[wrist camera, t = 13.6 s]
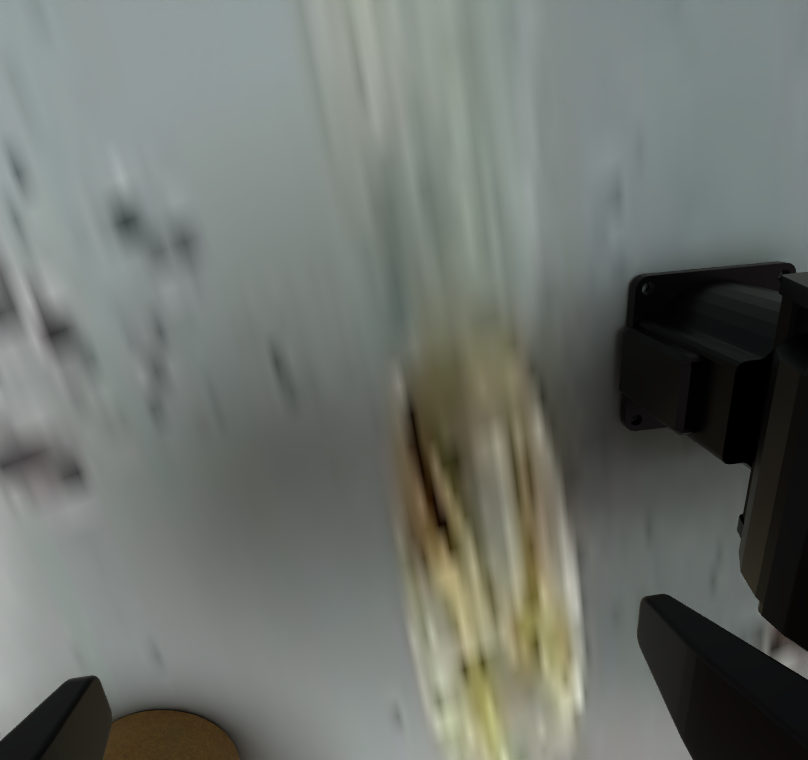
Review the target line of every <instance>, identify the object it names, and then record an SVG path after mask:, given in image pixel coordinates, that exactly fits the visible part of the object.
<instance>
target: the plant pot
mask: <svg viewBox="0 0 808 760" xmlns="http://www.w3.org/2000/svg"><path fill="white" fill-rule="evenodd" d="M103 760H239V755H238V752H237V749H236V747H235V745H234V743H233V742H232V740H231V739H230V738H229V736H228V735H227V734H226V733H225V732H224V731H223V730H221V729H220V728H219V727H218V726H217V725H215V724H213V723H211V722H209V721H208V720H206V719H204V718H201V717H199V716H196V715H193V714H190V713H185V712H178V711H172V710H153V711H144V712H139V713H135V714H131V715H128V716H125V717H123V718H121V719H118V720H116V721H114V722H113V723H112V725H111V730H110V734H109V738H108V742H107V746H106V750H105V754H104V758H103Z"/></svg>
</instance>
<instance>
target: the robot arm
mask: <svg viewBox="0 0 808 760" xmlns="http://www.w3.org/2000/svg"><path fill="white" fill-rule="evenodd" d="M781 271H782V275H781V277H780V278H779V279H778V274H779V273H780V272H781ZM645 283H649V288H648V290H647V291H646V292H645V293H642V287H643V285H644V284H645ZM619 389H620V391H621V392H622V403H621V416H620V418H621V422H622V424H623V425H624V426H625V427H626V428H628V429H629V430H631V431H639V430H647V429H656V428H664V427H669V428H670V429H671V430H673V431H674V432H675V433H677V434H679V435H684V434H686V435H687V436H688V437H690V438H691V439H693V440H694V441H695V442H697V443H698V444H699V445H701V446H702V447H704V448H705V449H706V450H708V451H709V452H710V453H712V454H713V455H714V456H716V457H717V458H719V459H720V460H721V461H723V462H724V463H725V464H736V463H742V464H744V465H745V466H747V467H748V468H750V469H751V473H750V479H749V484H748V490H747V496H746V501H745V507H744V512H743V514H741V515H740V516H739V520H738V526H737V531H738V533H739V535H740V537H741V542H740V548H739V559H740V571H741V573H742V575H743V577H744V578H745V580H746V582H747V583H748V585H749V587H750V588H751V590H752V592H753V593H754V595H755V597H756V598H757V599H758V600H759V606H758V611H759V612H760V614H761V615H762V616H763V617H764V618H765V619H766V620H767V621H768V622H770V623H771V624H772V625H773V626H774V627H775V628H776V629H777V630H778V631H779V632H781V633H782V634H783V635H784V636H785V637H787V638H788V639H789V640H790V641H792V642H793V643H795V644H796V645H798V646H799V647H801V648H802V649H804V650H805V651H807V652H808V272H802V273H796V269H795V267H794V266H793V265H792V264H791V263H785V262H767V263H757V264H746V265H735V266H725V267H714V268H703V269H693V270H682V271H671V272H661V273H650V274H642V275H639V276H638V277H636V278H635V279H634V281H633V282H632V284H631V288H630V300H629V312H628V325H627V329H626V331H625V332H624V333H623V344H622V357H621V371H620V384H619ZM634 415H638V416H637V418H636V419H635V420H634V421H632V422H631V418H632V417H633V416H634ZM637 638H638V643H639V646H640V649H641V651H642V653H643V655H644V657H645V660H646V662H647V664H648V666H649V669H650V671H651V673H652V675H653V677H654V680H655V682H656V684H657V686H658V688H659V691H660V693H661V695H662V697H663V699H664V702H665V704H666V706H667V708H668V710H669V713H670V715H671V717H672V719H673V721H674V724H675V726H676V728H677V730H678V732H679V734H680V736H681V738H682V740H683V742H684V744H685V746H686V748H687V750H688V752H689V753H690V755H691V757H692V759H693V760H808V680H807V679H806V678H804V677H802V676H801V675H799V674H798V673H796V672H794V671H793V670H791V669H789V668H788V667H786V666H784V665H783V664H781V663H779V662H778V661H776V660H775V659H773V658H771V657H770V656H768V655H766V654H765V653H763V652H761V651H760V650H758V649H756V648H755V647H753V646H752V645H750V644H748V643H747V642H745V641H743V640H742V639H740V638H738V637H737V636H735V635H733V634H732V633H730V632H729V631H727V630H725V629H724V628H722V627H720V626H719V625H717V624H715V623H714V622H712V621H710V620H709V619H707V618H706V617H704V616H702V615H701V614H699V613H697V612H696V611H694V610H692V609H691V608H689V607H687V606H686V605H684V604H683V603H681V602H679V601H678V600H676V599H674V598H673V597H671V596H669V595H666V594H659V595H652V596H645V597H643V598H642V600H641V602H640V609H639V619H638V628H637ZM111 725H112V712H111V708H110V706H109V703H108V700H107V698H106V695H105V692H104V689H103V687H102V684H101V682H100V680H99V678H98V677H96V676H85V677H78V678H72V679H69V680H67V681H66V682H64V683H63V684H62V685H61V686H60V687H59V688H58V689H56V690H55V691H54V692H53V693H52V694H51V695H50V696H49V697H48V698H47V699H46V700H44V701H43V702H42V703H41V704H40V705H39V706H38V707H37V708H36V709H35V710H34V711H33V712H31V713H30V714H29V715H28V716H27V717H26V718H25V719H24V720H23V721H22V722H21V723H19V724H18V725H17V726H16V727H15V728H14V729H13V730H12V731H11V732H10V733H9V734H7V735H6V736H5V737H4V738H3V739H2V740H1V741H0V760H103V758H104V754H105V750H106V746H107V742H108V738H109V734H110V730H111Z"/></svg>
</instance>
